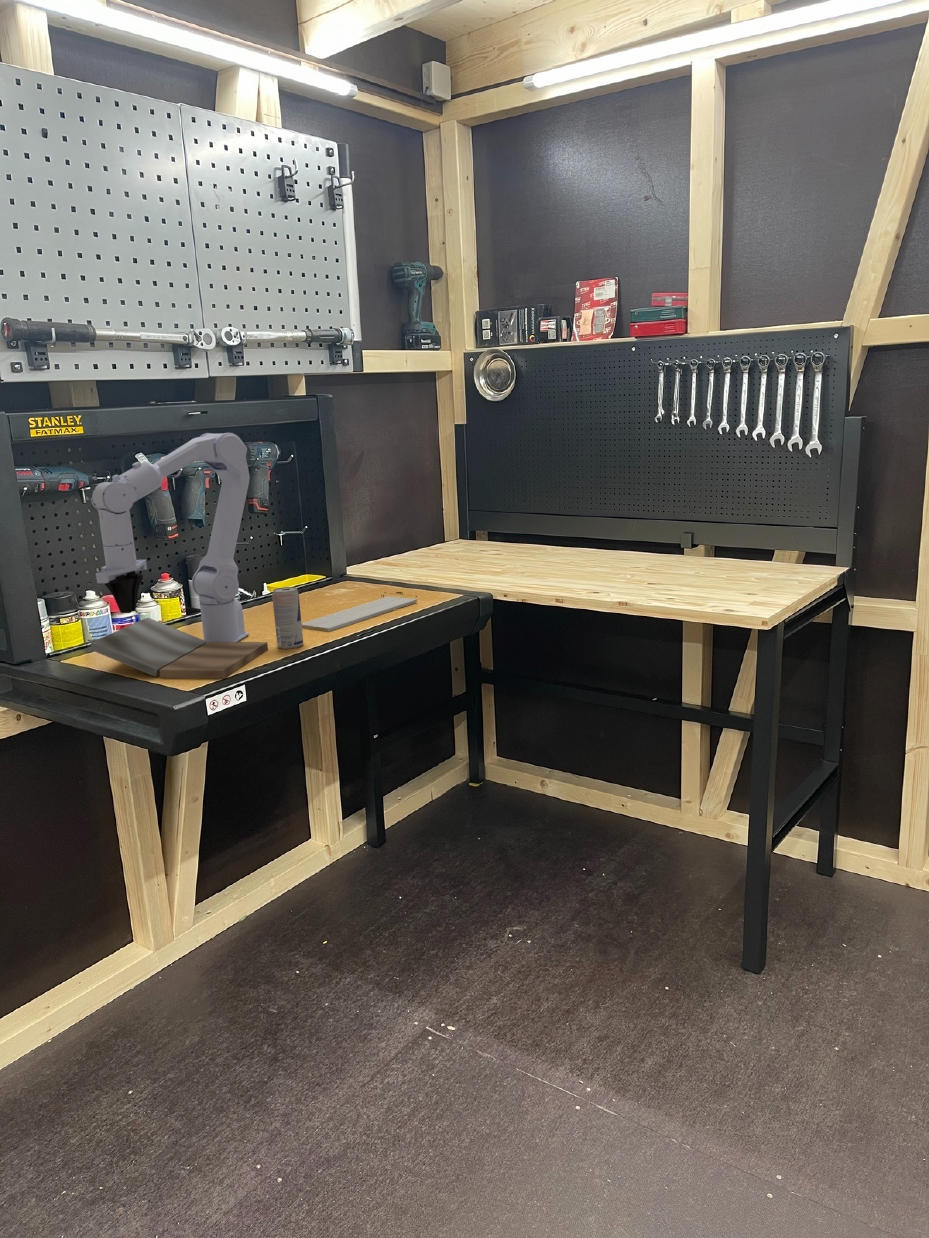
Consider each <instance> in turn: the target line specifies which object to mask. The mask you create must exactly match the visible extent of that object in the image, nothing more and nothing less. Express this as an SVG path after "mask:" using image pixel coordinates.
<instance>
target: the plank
mask: <svg viewBox="0 0 929 1238" xmlns="http://www.w3.org/2000/svg"><path fill="white" fill-rule="evenodd" d="M90 643H91V644H90V647H89V650H91V651H92V652H95V653H97V654H99V655H102V656H104V657H107V658H109V659H112V660H114V661H116V662H119V663H122V664H124V665H126V666H129V667H131V668H133V669H135V670H139V671H140V672H143V673H145V674H148V675H151V676H153V677H157V676H160V671H159V670H160V669H162V668H163V667H165V666H167V665H169V664H171V663H172V662H174V661H176V660H178V659H179V658H181V657H183V656H185V655H187V654H188V653H190V652H192V651H194V650H195V649H197V648H199V647H201V646H202V645H204V644H206V643H207V641H204V640H203V639H202V638H200V637H197V636H194V635H192V634H189V633H188V632H185V631H182V630H179V629H177V628H175V627H173V626H170V625H167V624H165V623H163V622H160V621H158V620H155V619H153V618H150V617H145V618H143V619H141V620H139V621H135V622H134V623H132V624H130V625H127V626H125V627H123V628H121V629H119V630H116V631H114V632H111V633H109V634H108V635H105V636H103V637H101V638H97V639H96V640H93V641H92V642H90Z"/></svg>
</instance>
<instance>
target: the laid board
mask: <svg viewBox="0 0 929 1238" xmlns="http://www.w3.org/2000/svg"><path fill="white" fill-rule="evenodd" d="M268 650H269V647H268V642H267V641H237V642H208V643H206V644H204V645H202V646H201V647H199V648H197V649H195V650H194V651H192V652H190V653H188V654H187V655H185V656H183V657H181V658H179V659H178V660H176V661H174V662H172V663H171V664H169V665H167V666H165V667H163V668H162V669H160V670H159V671H160V674H159V677H160V679H198V678H217V679H216V680H225V679H226V678H228V677H229V676H231V675H232V674H233V673H235V672H236V671H238V670H240V669H241V668H243V667H244V666H245V664H246V665H247V664H248V663H249V664H250V662H252V661H253V660H255V659H257V658H259V656H261V655H262V654H264V653H265V652H267V651H268ZM230 674H231V675H230ZM165 677H166V678H165ZM172 677H173V678H172ZM224 678H225V679H224Z"/></svg>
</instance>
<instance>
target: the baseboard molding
mask: <svg viewBox="0 0 929 1238" xmlns="http://www.w3.org/2000/svg"><path fill="white" fill-rule="evenodd" d="M395 592H396V593H395V594H398V595H401V596H403V595H404V592H403V591H395ZM384 594H386V591H384ZM384 594H381V595H380V596H381V598H379V599H375V600H372V601H369V602H365V603H362V604H359V605H357V606H353V607H350V608H347V609H343V610H340V611H337V612H334V613H330V614H327V615H324V616H321V617H318V618H314V619H311V620H308V621H305V622H301V623H302V629H304V630H305V629H306V630H312V631H317V632H319V631H320V632H326V633H330V632H332V631H333V632H334V631H337V630H338V629H342V628H345V627H349V626H351V625H354V624H356V623H359V622H363V621H366V620H369V619H372V618H375V617H374V616H376V617H378V615H379V616H381V614H382V615H384V614H383V613H385V614H387V613H391V612H393V611H392V610H394V609H397V610H400V609H402V608H401V607H403V608H405V607H404V606H406V607H409V606H412V605H414V604H413V603H415V604H417V603H418V599H417V596H418V595H415V597H416V598H407V597H401V596H400V597H398V596H392V595H388V596H385V595H384ZM390 594H393V595H394V593H390ZM407 596H411V597H412V595H410V594H409V595H408V594H407ZM416 602H417V603H416ZM411 604H412V605H411ZM408 605H409V606H408ZM399 608H400V609H399ZM390 611H391V612H390ZM394 611H395V610H394Z"/></svg>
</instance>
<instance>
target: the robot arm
mask: <svg viewBox="0 0 929 1238" xmlns="http://www.w3.org/2000/svg"><path fill="white" fill-rule="evenodd" d="M247 453H248V447H247V446H246V444H245V443H244V442H243V441H242V439H241V438H240V436H239V435H237V434H235V433H233V432H224V433H212V432H206V433H203V434H202V435H201V434H200V436H198V437H194V438H192V439H190V440H189V441H188V442H186V443H184V444H183V445H181V446H179V447H177V448H176V449H175V450H173V451H171V452H170V453H168V454H167V455H165V456H163V457H162V458H161V459H159V460H157V461H156V462H154V463H151V462H147V461H143V462H141V461H136V462H134V463H132V468H130V469H128V470H126V471H125V472H123V473H121V474H120V475H119V474H115V475H112V476H111V479H112V481H110V482H109V481H105V482H100V483H99V484H97V485H96V487H94V490H93V491H92V497H90V502H91V504H92V506H93V507H94V508H95V509H96V510H97V512H98V513H97V514H98V517H99V518H98V519H99V527H100V535H101V541H102V546H103V554H104V561H105V565H104V566H101V571H99V572H96V573H95V579H96V584H104V585H105V586H106V588H107V589H108V590H109V591H110V593H111V594H112V597H113V598H114V600H115V603H116V605H117V607H118V609H119V612H120V614H131V613H132V612H136V609H137V601H138V593H139V589H140V586H141V584H142V581H143V578H144V576H143V574H142V573H136V572H139V571H145V570H148V565H147V559H137V554H136V547H135V541H134V535H133V526H132V519H131V513H130V510H131V509H132V507H133V504H134V503H135V502H137V501H139V500H140V499H142V498H144V497H146V496H148V495H149V494H151V493H153V492H154V491H156V490H158V489H159V488H161V487H162V484H163V480H164V478H166V477H168V476H170V475H172V474H174V473H175V472H178V471H179V470H181V469H184V468H185V467H187V466H189V465H191V464H193V463H195V462H203V463H204V464H206V466H208V467H210V468H211V470H213V471H214V472H215V474H216V475H217V476H218V478H219V479H220V481H221V487H220V489H219V495H218V500H217V505H216V510H215V514H214V519H213V525H212V528H211V534H210V539H209V544H208V549H207V553H206V554H205V556H203V557H202V559H201V560H200V561H199V566H198V568H197V570H196V571H195V572H194V574H193V576H192V579H191V588H192V590H193V592H194V593H195V594H196V595H197V596H198V599H199V601H198V602H199V607H200V618H201V625H202V634H203V639H202V640H204V641H207V643H208V642H240V641H241V640H243V639H244V638H246V637H247V636H249V635H250V632H248V631H247V632H246V629H245V621H244V620H245V619H244V612H243V609H244V608H243V607H242V606H243V605H242V603H241V602H240V601H239V600H238V599H237V598H236V596H237V594H238V593H239V586H240V585H239V579H238V573H239V567H238V566H237V564H236V562H235V560H234V556H235V552H236V547H237V543H238V538H239V532H240V527H241V524H242V523H241V522H242V517H243V514H244V508H245V503H246V499H247V494H248V490H249V485H250V477H251V476H250V472H249V466H248V463H247V462H248V461H247Z"/></svg>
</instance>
